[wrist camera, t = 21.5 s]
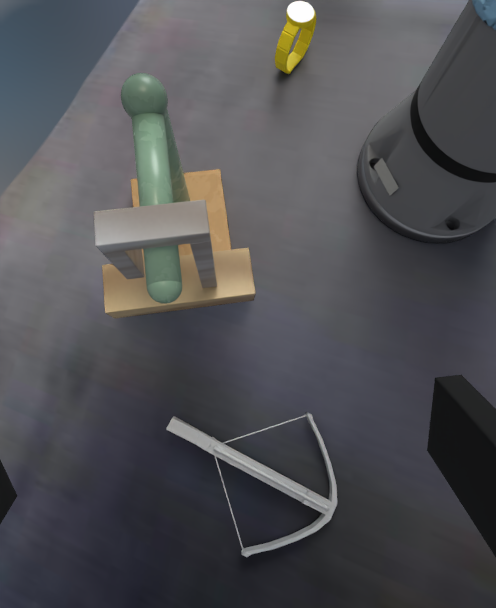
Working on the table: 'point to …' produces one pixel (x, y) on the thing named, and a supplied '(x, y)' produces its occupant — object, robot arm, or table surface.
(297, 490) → the crossbow
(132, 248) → the grey arch on wood
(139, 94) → the hanger stand
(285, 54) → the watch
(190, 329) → the table surface
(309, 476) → the table surface
